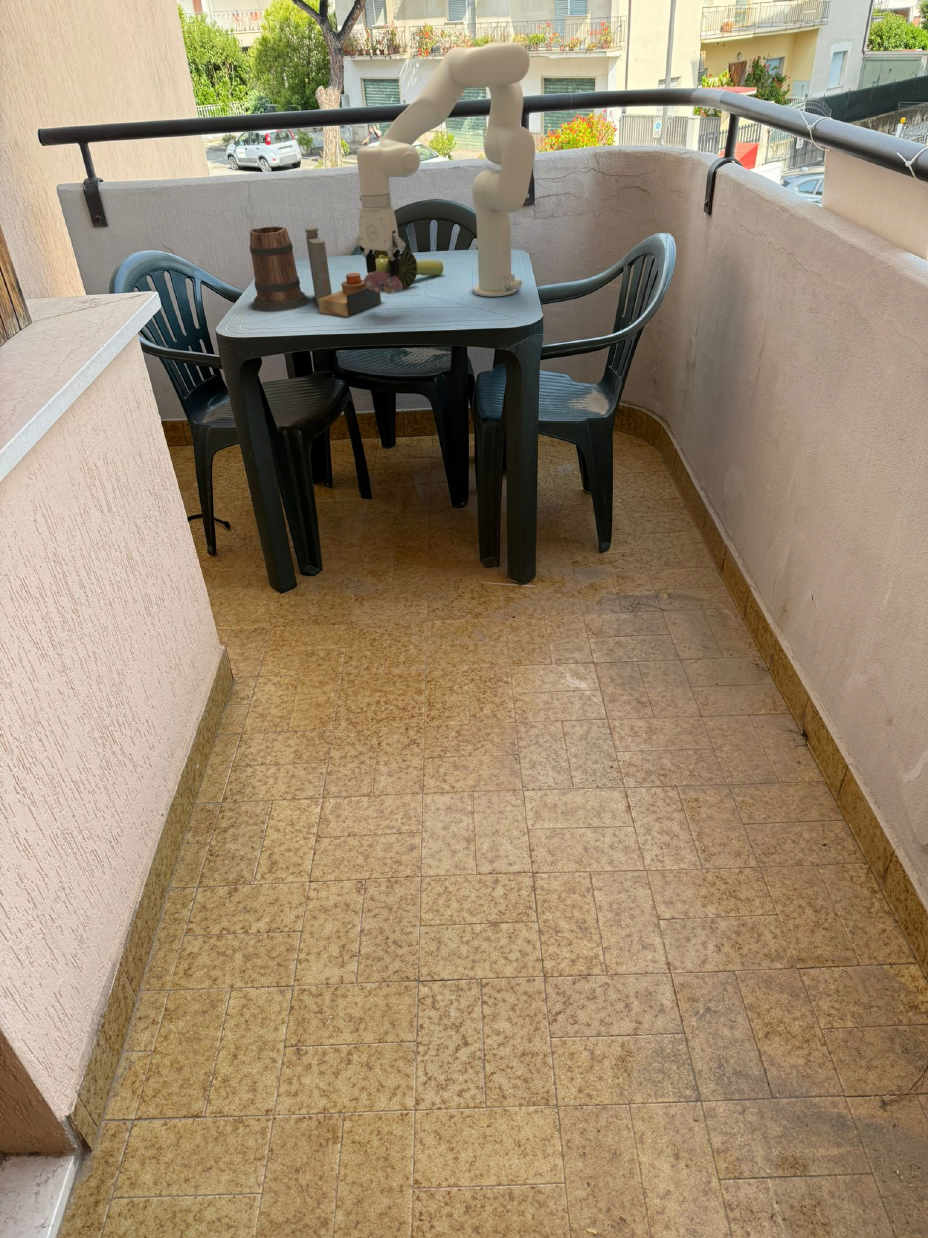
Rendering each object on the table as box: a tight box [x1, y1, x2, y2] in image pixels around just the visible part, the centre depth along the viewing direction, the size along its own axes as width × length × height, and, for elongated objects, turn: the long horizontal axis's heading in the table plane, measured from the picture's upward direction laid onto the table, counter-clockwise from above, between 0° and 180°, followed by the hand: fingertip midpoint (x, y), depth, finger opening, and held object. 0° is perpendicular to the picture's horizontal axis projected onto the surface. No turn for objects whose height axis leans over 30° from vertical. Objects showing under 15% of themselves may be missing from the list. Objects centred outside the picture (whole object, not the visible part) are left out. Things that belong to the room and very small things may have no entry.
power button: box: [345, 272, 362, 285], centre depth 237 cm, size 4×4×2 cm
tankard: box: [249, 225, 310, 312], centre depth 243 cm, size 24×17×20 cm
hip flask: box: [304, 226, 333, 306], centre depth 239 cm, size 16×4×20 cm, turn 17°
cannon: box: [367, 248, 444, 291], centre depth 254 cm, size 25×12×11 cm, turn 129°
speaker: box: [318, 279, 382, 318], centre depth 236 cm, size 10×15×6 cm, turn 144°
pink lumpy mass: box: [363, 271, 404, 294], centre depth 227 cm, size 10×5×7 cm, turn 73°
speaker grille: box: [346, 287, 382, 316], centre depth 234 cm, size 1×13×5 cm, turn 144°
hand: (383, 273), depth 225 cm, fingers closed on pink lumpy mass, 7 cm apart
